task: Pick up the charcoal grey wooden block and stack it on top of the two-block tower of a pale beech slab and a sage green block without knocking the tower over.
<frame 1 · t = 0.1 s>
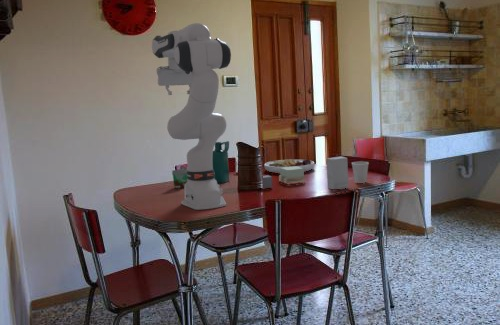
hand: (179, 94, 216), 48 cm above the table, tool pointing down, fingers open, 8 cm apart
teal gas canister: (221, 182, 240), on the table
food container: (183, 187, 230), on the table
bowl: (289, 171, 265), on the table
skincare box 2: (337, 189, 207), on the table
grey block: (265, 188, 216), on the table
dixie cup: (360, 182, 218), on the table
skincare box: (243, 173, 265), on the table
tower base: (292, 183, 227), on the table, touching tower top
tower top: (292, 175, 226), point 4 cm above the table, touching tower base
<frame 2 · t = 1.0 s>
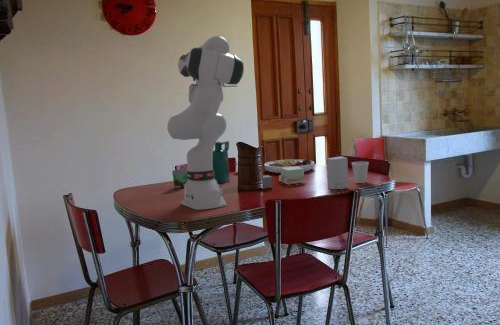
hand: (207, 112, 215), 39 cm above the table, tool pointing down, fingers open, 8 cm apart
nothing on the table moved.
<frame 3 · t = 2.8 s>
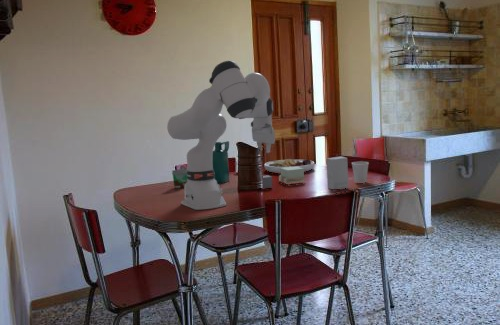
hand: (264, 151, 214), 18 cm above the table, tool pointing down, fingers open, 8 cm apart
nothing on the table moved.
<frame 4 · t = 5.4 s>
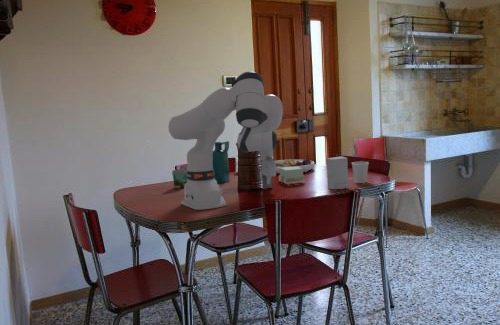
hand: (265, 183, 216), 3 cm above the table, tool pointing down, fingers closed on grey block, 5 cm apart
grey block: (265, 188, 216), on the table, touching gripper
tower base: (291, 183, 227), on the table
tower top: (291, 175, 226), point 4 cm above the table
everything else where it was.
when the fingers open (12 cm above the table, at t = 13.5 s): grey block drops 2 cm, resting on tower top.
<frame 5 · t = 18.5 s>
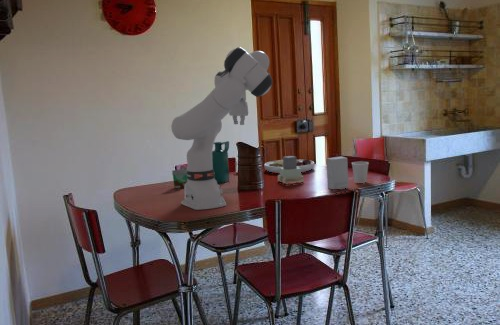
hand: (239, 124, 229), 31 cm above the table, tool pointing down, fingers open, 8 cm apart
grey block: (290, 168, 226), point 8 cm above the table, touching tower top
tower base: (290, 183, 228), on the table, touching tower top
tower top: (290, 175, 227), point 4 cm above the table, touching grey block, tower base
everything else where it was.
at the end: grey block 0.5 cm off-centre on the tower top, point 4.1 cm above the tower top's base; tower top 0.1 cm off-centre on the tower base, point 4.0 cm above the tower base's base; grey block tilted 2° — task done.
